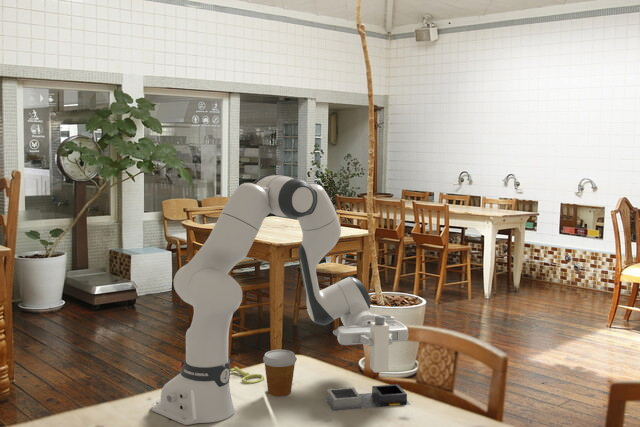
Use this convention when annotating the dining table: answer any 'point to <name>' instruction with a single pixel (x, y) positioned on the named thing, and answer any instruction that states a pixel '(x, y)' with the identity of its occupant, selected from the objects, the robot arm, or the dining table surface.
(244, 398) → the dining table surface
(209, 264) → the robot arm
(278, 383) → the disposable coffee cup
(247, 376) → the key
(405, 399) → the panel
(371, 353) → the plug
